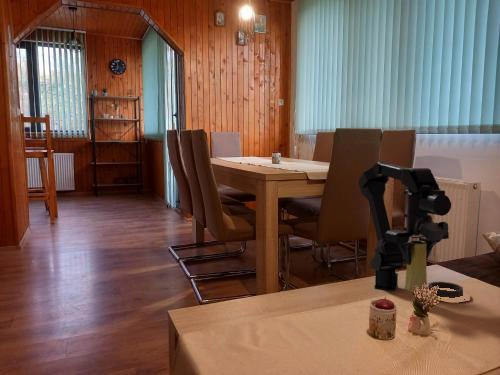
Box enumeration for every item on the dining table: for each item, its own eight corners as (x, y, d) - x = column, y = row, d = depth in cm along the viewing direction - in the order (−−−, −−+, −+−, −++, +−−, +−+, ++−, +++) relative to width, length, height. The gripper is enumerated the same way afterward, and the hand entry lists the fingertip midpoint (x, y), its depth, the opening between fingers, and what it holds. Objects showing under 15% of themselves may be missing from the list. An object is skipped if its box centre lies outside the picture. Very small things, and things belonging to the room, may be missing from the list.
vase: (400, 287, 124) (401, 240, 123) (419, 285, 125) (420, 239, 124) (412, 293, 118) (413, 244, 117) (431, 292, 119) (432, 243, 118)
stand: (419, 299, 125) (420, 290, 125) (422, 285, 138) (422, 277, 138) (471, 305, 119) (472, 296, 119) (469, 291, 132) (469, 282, 132)
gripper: (411, 216, 109) (410, 274, 110) (464, 212, 115) (463, 267, 117) (384, 211, 120) (383, 264, 121) (434, 208, 126) (433, 258, 127)
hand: (416, 263), depth 121 cm, fingers closed on vase, 5 cm apart
